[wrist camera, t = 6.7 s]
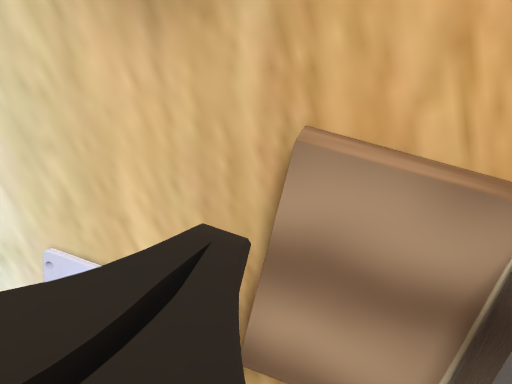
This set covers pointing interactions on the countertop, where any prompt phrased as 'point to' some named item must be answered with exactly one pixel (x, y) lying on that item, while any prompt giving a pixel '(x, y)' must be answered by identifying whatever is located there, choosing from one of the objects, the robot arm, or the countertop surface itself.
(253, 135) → the countertop surface
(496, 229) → the stool seat
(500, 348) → the folding leg
